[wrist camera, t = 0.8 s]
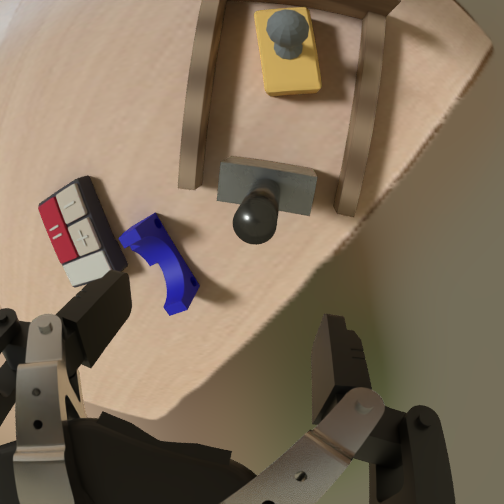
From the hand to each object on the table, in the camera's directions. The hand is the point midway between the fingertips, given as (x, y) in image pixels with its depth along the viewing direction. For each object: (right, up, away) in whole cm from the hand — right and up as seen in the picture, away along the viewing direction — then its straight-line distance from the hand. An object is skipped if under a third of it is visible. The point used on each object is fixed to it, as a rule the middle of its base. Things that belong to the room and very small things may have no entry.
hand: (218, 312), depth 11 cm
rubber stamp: (+5, +24, +15) cm, 29 cm away
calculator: (-25, +6, +29) cm, 38 cm away
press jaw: (+3, +11, +21) cm, 24 cm away
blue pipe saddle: (-11, +2, +28) cm, 30 cm away
